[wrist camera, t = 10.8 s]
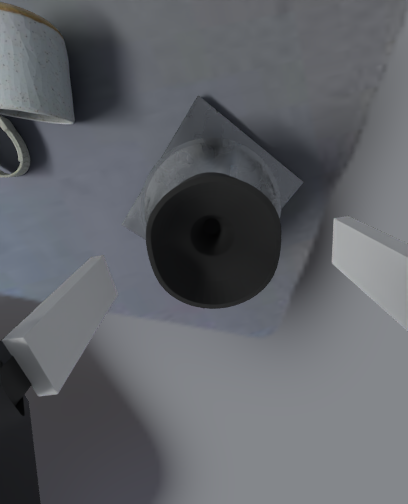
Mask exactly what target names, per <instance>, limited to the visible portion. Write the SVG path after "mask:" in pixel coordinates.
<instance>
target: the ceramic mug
mask: <svg viewBox="0 0 408 504" xmlns="http://www.w3.org/2000/svg"><path fill="white" fill-rule="evenodd" d="M0 114H2V115H6V116H12V117H16V118H22V119H27V120H34V121H39V122H48V123H56V124H73V123H74V122H75V118H74V110H73V100H72V91H71V82H70V74H69V61H68V55H67V50H66V46H65V42H64V39H63V37H62V35H61V34H60V32H59V31H58V30H57V29H56V28H55V27H54V26H53V25H52V24H51V23H49V22H48V21H47V20H45V19H44V18H42V17H40V16H38V15H36V14H35V13H32V12H30V11H28V10H25V9H23V8H20V7H17V6H14V5H11V4H7V3H2V2H0Z"/></svg>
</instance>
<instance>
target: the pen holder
mask: <svg viewBox="0 0 408 504" xmlns="http://www.w3.org/2000/svg"><path fill="white" fill-rule="evenodd" d="M146 245H147V251H148V256H149V260H150V263H151V266H152V269H153V271H154V274H155V276H156V278H157V280H158V281H159V283H160V285H161V286H162V287H163V288H164V289H165V290H166V291H167V292H168V293H169V294H170V295H171V296H173V297H174V298H176V299H178V300H179V301H181V302H184V303H186V304H189V305H192V306H196V307H201V308H210V309H215V308H226V307H230V306H235V305H237V304H240V303H243V302H245V301H247V300H249V299H251V298H252V297H254V296H256V295H257V294H258V293H259V292H261V291H262V290H263V289H264V288H265V287H266V286H267V284H268V283H269V282H270V280H271V279H272V277H273V275H274V273H275V271H276V268H277V265H278V261H279V256H280V249H281V224H280V219H279V215H278V213H277V211H276V208H275V207H274V205H273V204H272V202H271V201H270V200H269V199H268V198H267V197H266V196H265V195H264V194H263V193H262V192H261V191H260V190H258V189H257V188H255V187H254V186H252V185H250V184H249V183H246V182H244V181H242V180H239V179H237V178H234V177H232V176H229V175H226V174H223V173H217V172H206V173H200V174H197V175H194V176H192V177H190V178H188V179H186V180H185V181H183V182H182V183H180V184H179V185H177V186H176V187H175V188H173V189H172V190H170V191H169V192H168V193H167V194H166V195H165V196H163V197H162V199H161V200H160V201H159V202H158V203H157V204H156V206H155V207H154V209H153V211H152V212H151V214H150V217H149V219H148V222H147V226H146Z"/></svg>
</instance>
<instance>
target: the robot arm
mask: <svg viewBox="0 0 408 504" xmlns="http://www.w3.org/2000/svg"><path fill="white" fill-rule="evenodd" d="M333 224H334V225H333V246H332V264H333V265H334V266H335V267H337V268H338V269H339V270H340V271H341V272H342V273H343V274H344V275H345V276H347V277H348V278H349V279H350V280H351V281H352V282H353V283H354V284H356V285H357V286H358V287H359V288H360V289H361V290H362V291H364V293H366V294H367V295H368V296H369V297H370V298H371V299H372V300H373V301H374V302H376V303H377V304H378V305H379V306H380V307H381V308H382V309H383V310H384V311H386V312H387V313H388V314H389V315H390V316H391V317H392V318H393V319H395V320H396V321H397V322H398V323H399V324H400V325H401V326H402V327H403V328H405V329H406V330H407V331H408V243H406V242H404V241H401V240H399V239H397V238H395V237H393V236H391V235H388V234H386V233H384V232H382V231H380V230H378V229H375V228H373V227H371V226H369V225H367V224H365V223H362V222H360V221H358V220H356V219H354V218H352V217H349V216H345V217H339V218H334V223H333ZM117 296H118V293H117V290H116V287H115V285H114V282H113V279H112V277H111V274H110V271H109V269H108V266H107V263H106V260H105V258H104V255H101V256H95V257H91V258H90V259H88V260H87V261H86V262H85V263H84V264H83V265H82V266H81V267H80V268H79V269H78V270H77V271H76V272H75V273H73V274H72V275H71V276H70V277H69V278H68V279H67V280H66V281H65V282H64V283H63V284H62V285H61V286H59V287H58V288H57V289H56V290H55V291H54V292H53V293H52V294H51V295H50V296H49V297H48V298H47V299H45V300H44V301H43V302H42V303H41V304H40V305H39V306H38V307H37V308H36V309H35V310H33V311H32V312H31V313H30V314H29V315H28V316H27V317H26V318H24V320H23V321H21V322H20V323H19V324H18V325H17V326H16V327H15V328H14V329H13V330H11V331H10V332H9V333H8V334H7V335H6V336H5V337H4V338H3V339H2V340H1V341H0V504H41V503H40V494H39V485H38V477H37V469H36V460H35V452H34V442H33V434H32V425H31V417H30V408H29V401H28V399H27V398H26V396H25V395H24V394H25V393H26V391H27V390H28V389H29V387H30V386H32V387H33V389H34V390H35V392H36V393H37V395H38V396H46V395H54V394H58V393H59V391H60V389H61V388H62V386H63V384H64V383H65V381H66V379H67V378H68V376H69V375H70V373H71V371H72V370H73V368H74V366H75V365H76V363H77V361H78V360H79V358H80V356H81V355H82V353H83V352H84V350H85V348H86V347H87V345H88V343H89V342H90V340H91V338H92V337H93V335H94V333H95V332H96V330H97V329H98V327H99V325H100V323H101V322H102V320H103V319H104V317H105V315H106V314H107V312H108V310H109V309H110V307H111V305H112V304H113V302H114V301H115V299H116V297H117Z"/></svg>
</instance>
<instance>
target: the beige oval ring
mask: <svg viewBox="0 0 408 504" xmlns="http://www.w3.org/2000/svg"><path fill="white" fill-rule="evenodd" d="M0 127H1V128H2V129H3V131H5V132H6V133H7V135H8V136H9V137H10V139H11V140H12V142H13V144H14V146H15V148H16V150H17V154H18V161H21V162H20V165H19V167H18V169H17V170H16V171H15V172H14V173H12V174H7V173H4V172H3V171H1V170H0V177H17V176H21V175H23V174H25V173H26V172H27V171H28V169H29V167H30V155H29V151H28V149H27V146H26V144H25V142H24V141H23V139H22V137H21V136H20V135H19V134H18V132H16V131H17V130H16V129H15V128H14V126H13V125H12V123H11V122H10V120H9V119H7V118H4V117H2V116H1V115H0Z"/></svg>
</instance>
